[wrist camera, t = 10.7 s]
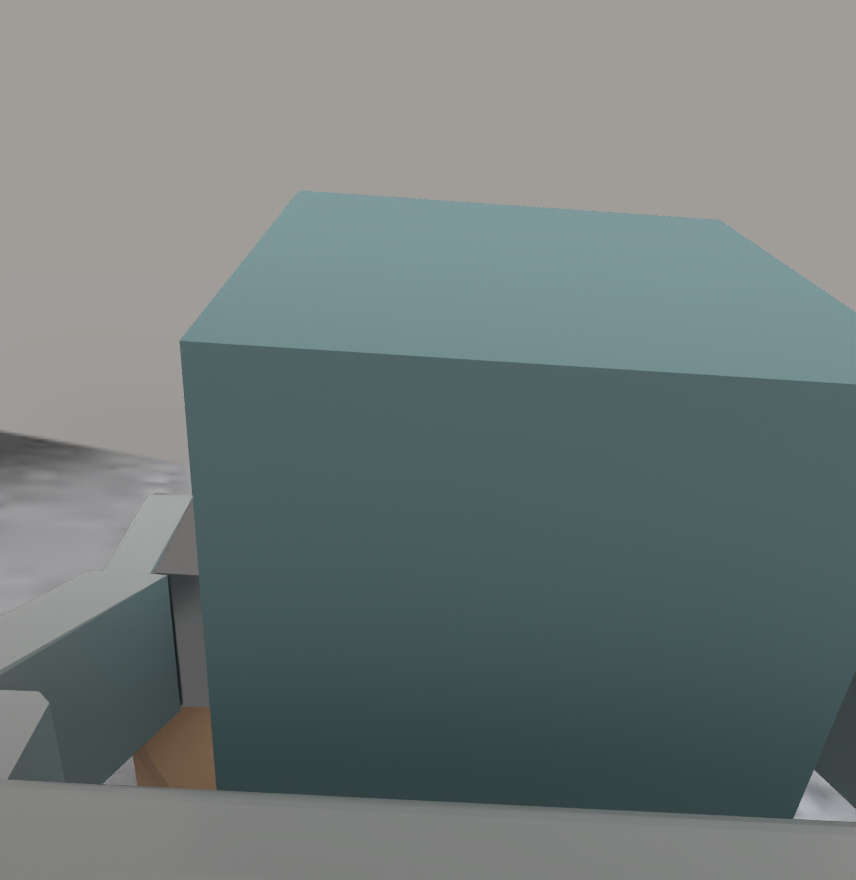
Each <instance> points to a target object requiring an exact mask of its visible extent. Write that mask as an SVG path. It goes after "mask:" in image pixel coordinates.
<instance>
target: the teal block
mask: <svg viewBox="0 0 856 880" xmlns="http://www.w3.org/2000/svg"><path fill="white" fill-rule="evenodd" d="M180 350H181V363H182V375H183V387H184V399H185V411H186V423H187V436H188V448H189V460H190V473H191V485H192V497H193V509H194V521H195V534H196V546H197V558H198V570H199V583H200V595H201V607H202V619H203V631H204V644H205V656H206V668H207V680H208V692H209V705H210V717H211V729H212V741H213V754H214V766H215V778H216V790H222V791H241V792H261V793H281V794H300V795H320V796H340V797H359V798H379V799H399V800H419V801H440V802H460V803H481V804H501V805H522V806H542V807H563V808H583V809H604V810H624V811H645V812H665V813H685V814H705V815H724V816H744V817H763V818H782V819H793V818H794V815H795V813H796V811H797V808H798V806H799V803H800V801H801V799H802V796H803V794H804V792H805V789H806V787H807V785H808V782H809V780H810V777H811V775H812V773H813V770H814V768H815V766H816V763H817V761H818V758H819V756H820V754H821V751H822V749H823V747H824V744H825V742H826V739H827V737H828V735H829V732H830V730H831V728H832V725H833V723H834V720H835V718H836V716H837V713H838V711H839V709H840V706H841V704H842V702H843V699H844V697H845V694H846V692H847V690H848V687H849V685H850V683H851V680H852V678H853V675H854V673H855V671H856V312H854V311H853V310H851V309H850V308H849V307H847V306H846V305H844V304H843V303H841V302H840V301H838V300H837V299H835V298H834V297H832V296H831V295H829V294H828V293H826V292H825V291H824V290H822V289H821V288H819V287H818V286H816V285H815V284H813V283H812V282H810V281H809V280H807V279H806V278H804V277H803V276H801V275H800V274H798V273H797V272H795V271H794V270H793V269H791V268H789V267H788V266H787V265H785V264H784V263H782V262H781V261H779V260H778V259H776V258H775V257H773V256H772V255H770V254H769V253H767V252H766V251H765V250H763V249H762V248H760V247H759V246H757V245H756V244H754V243H753V242H751V241H750V240H748V239H747V238H745V237H744V236H742V235H741V234H739V233H738V232H736V231H735V230H734V229H732V228H731V227H729V226H727V225H726V224H725V223H723V222H722V221H720V220H712V219H698V218H684V217H670V216H654V215H641V214H627V213H612V212H598V211H584V210H569V209H554V208H540V207H527V206H511V205H498V204H484V203H469V202H454V201H441V200H426V199H412V198H398V197H384V196H369V195H355V194H341V193H327V192H326V193H325V192H312V191H298V193H297V194H296V195H295V196H294V198H293V199H292V200H291V201H290V203H289V204H288V205H287V206H286V208H285V209H284V210H283V212H282V213H281V214H280V215H279V216H278V218H277V219H276V220H275V222H274V223H273V224H272V225H271V227H270V228H269V229H268V230H267V232H266V233H265V234H264V235H263V237H262V238H261V239H260V241H259V242H258V243H257V244H256V245H255V247H254V248H253V249H252V250H251V252H250V253H249V254H248V256H247V257H246V258H245V259H244V261H243V262H242V263H241V264H240V266H239V267H238V268H237V269H236V271H235V272H234V273H233V274H232V276H231V277H230V278H229V280H228V281H227V282H226V283H225V284H224V286H223V287H222V288H221V290H220V291H219V292H218V293H217V295H216V296H215V297H214V298H213V300H212V301H211V302H210V303H209V305H208V306H207V307H206V308H205V310H204V311H203V312H202V313H201V315H200V316H199V317H198V318H197V320H196V321H195V322H194V324H193V325H192V326H191V327H190V329H189V330H188V331H187V332H186V334H185V335H184V336H183V337H182V339H181V340H180Z"/></svg>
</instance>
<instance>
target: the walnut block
mask: <svg viewBox="0 0 856 880" xmlns="http://www.w3.org/2000/svg"><path fill="white" fill-rule="evenodd" d="M180 708H181V711H180V712H179V713H178V714H177V715H176V716H175V717H174V718H173V719H172V720H170V721H169V722H168V723H167V724H166V725H165V726H164V727H163V728H162V729H161V730H160V731H159V732H158V733H156V734H155V735H154V736H153V737H152V738H151V739H150V740H149V741H148V742H147V743H146V744H145V745H143V746H142V747H141V748H140V749H139V750H138V751H137V752H136V753H135V754H134V755H133V760H134V766H135V773H136V779H137V785H138V786H143V787H162V788H182V789H202V790H216V778H215V766H214V754H213V741H212V729H211V717H210V707H180Z"/></svg>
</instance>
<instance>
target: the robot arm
mask: <svg viewBox="0 0 856 880" xmlns="http://www.w3.org/2000/svg"><path fill="white" fill-rule="evenodd" d="M180 707H210V705H209V692H208V680H207V668H206V656H205V644H204V631H203V619H202V607H201V595H200V583H199V570H198V558H197V546H196V534H195V521H194V509H193V497H192V494H174V493H154V494H151V495H150V496H148V497H147V499H146V501H145V502H144V504H143V506H142V507H141V509H140V510H139V512H138V514H137V515H136V517H135V519H134V520H133V522H132V524H131V525H130V527H129V529H128V530H127V532H126V534H125V535H124V537H123V538H122V540H121V542H120V543H119V545H118V547H117V548H116V550H115V552H114V553H113V555H112V557H111V558H110V560H109V561H108V563H107V565H106V566H105V568H104V570H103V571H92V570H89V571H88V572H86V573H84V574H82V575H80V576H78V577H76V578H74V579H72V580H70V581H68V582H66V583H64V584H62V585H60V586H58V587H57V588H55V589H53V590H51V591H49V592H47V593H45V594H43V595H41V596H39V597H37V598H35V599H33V600H31V601H29V602H27V603H25V604H24V605H22V606H20V607H18V608H16V609H14V610H12V611H10V612H8V613H6V614H4V615H2V616H0V880H856V822H841V821H821V820H802V819H782V818H763V817H744V816H724V815H705V814H685V813H665V812H645V811H624V810H604V809H583V808H563V807H542V806H522V805H501V804H481V803H460V802H440V801H419V800H399V799H379V798H359V797H340V796H320V795H300V794H281V793H261V792H241V791H222V790H202V789H182V788H162V787H143V786H123V785H103V784H102V783H104V782H105V781H106V780H107V779H108V778H109V777H110V776H111V775H112V774H113V773H114V772H115V771H116V770H118V769H119V768H120V767H121V766H122V765H123V764H124V763H125V762H126V761H127V760H128V759H129V758H131V757H132V756H133V755H134V754H135V753H136V752H137V751H138V750H139V749H140V748H141V747H142V746H143V745H145V744H146V743H147V742H148V741H149V740H150V739H151V738H152V737H153V736H154V735H155V734H156V733H158V732H159V731H160V730H161V729H162V728H163V727H164V726H165V725H166V724H167V723H168V722H169V721H170V720H172V719H173V718H174V717H175V716H176V715H177V714H178V713H179V712H180V711H181V708H180ZM814 770H815V771H816V772H817V773H818V774H819V775H820V776H822V777H823V778H824V779H825V780H826V781H827V782H828V783H829V784H830V785H831V786H832V787H833V788H834V789H835V790H836V791H837V792H839V793H840V794H841V795H842V796H843V797H844V798H845V799H846V800H847V801H848V802H849V803H850V804H851V805H852V806H853V807H854V808H855V809H856V671H855V673H854V675H853V678H852V680H851V683H850V685H849V687H848V690H847V692H846V694H845V697H844V699H843V702H842V704H841V706H840V709H839V711H838V713H837V716H836V718H835V720H834V723H833V725H832V728H831V730H830V732H829V735H828V737H827V739H826V742H825V744H824V747H823V749H822V751H821V754H820V756H819V758H818V761H817V763H816V766H815V768H814Z"/></svg>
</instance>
